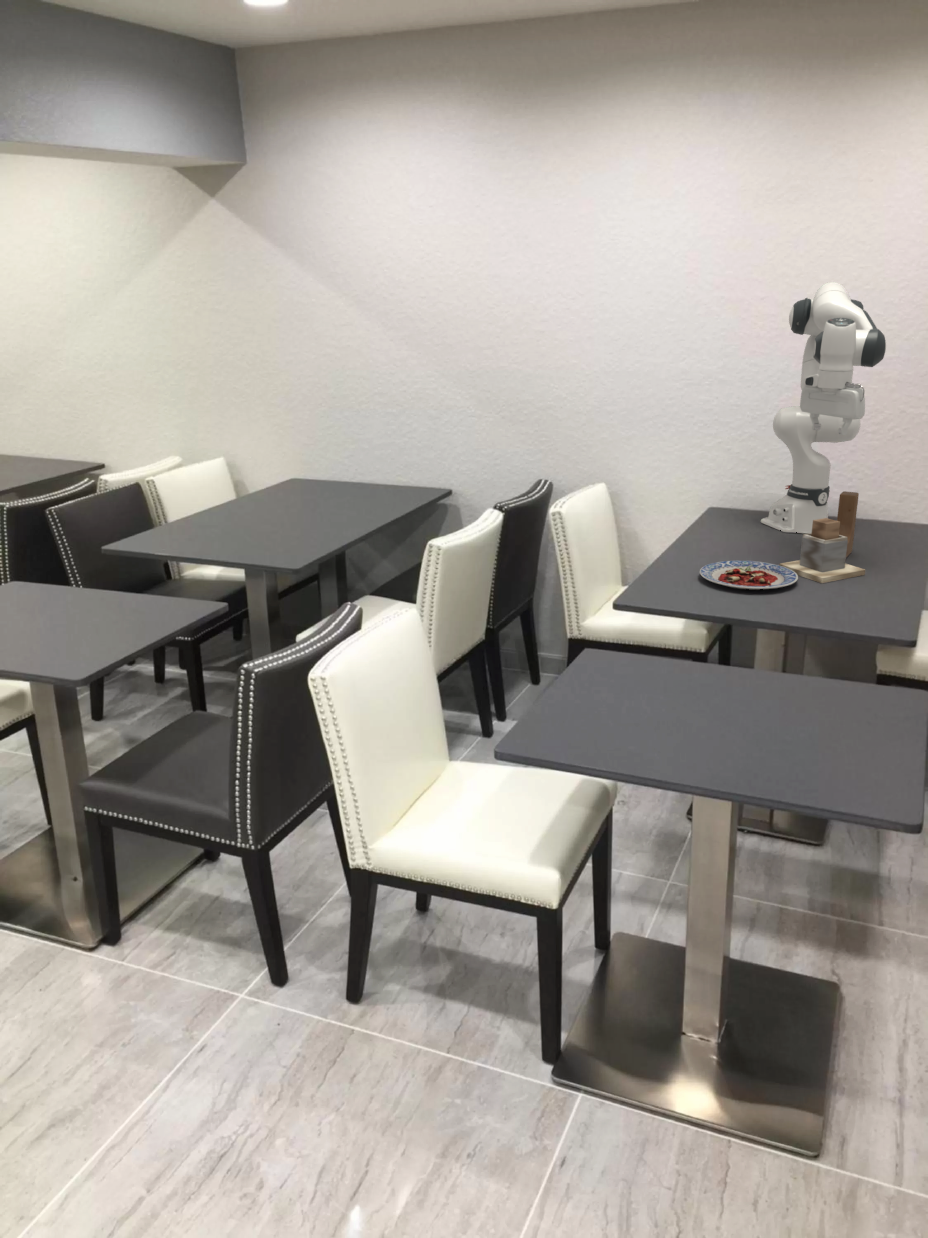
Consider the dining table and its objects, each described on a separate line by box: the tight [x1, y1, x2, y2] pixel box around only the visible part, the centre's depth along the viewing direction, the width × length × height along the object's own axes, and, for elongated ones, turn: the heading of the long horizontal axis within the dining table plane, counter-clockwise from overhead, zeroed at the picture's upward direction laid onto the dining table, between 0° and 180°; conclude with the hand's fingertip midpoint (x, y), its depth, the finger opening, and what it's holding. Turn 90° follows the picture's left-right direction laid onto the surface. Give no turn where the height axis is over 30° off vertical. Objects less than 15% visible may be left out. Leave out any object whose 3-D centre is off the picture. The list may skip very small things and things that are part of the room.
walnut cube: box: [811, 517, 840, 540], centre depth 277 cm, size 5×5×5 cm
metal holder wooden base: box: [778, 533, 866, 584], centre depth 279 cm, size 16×16×10 cm
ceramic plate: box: [699, 560, 799, 591], centre depth 274 cm, size 26×26×3 cm
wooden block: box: [836, 490, 860, 558], centre depth 294 cm, size 9×4×18 cm, turn 148°
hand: (829, 432), depth 278 cm, fingers open, 8 cm apart
